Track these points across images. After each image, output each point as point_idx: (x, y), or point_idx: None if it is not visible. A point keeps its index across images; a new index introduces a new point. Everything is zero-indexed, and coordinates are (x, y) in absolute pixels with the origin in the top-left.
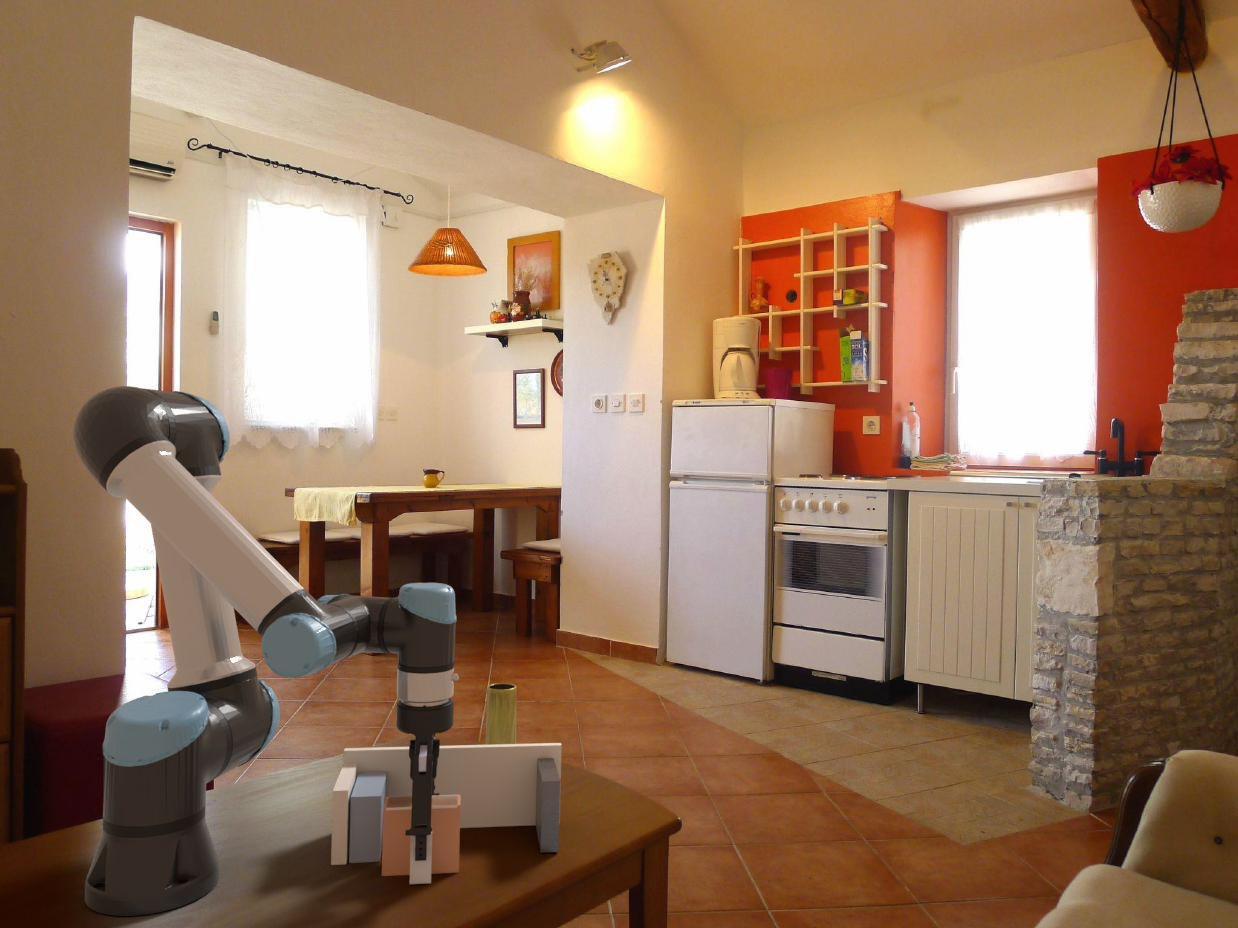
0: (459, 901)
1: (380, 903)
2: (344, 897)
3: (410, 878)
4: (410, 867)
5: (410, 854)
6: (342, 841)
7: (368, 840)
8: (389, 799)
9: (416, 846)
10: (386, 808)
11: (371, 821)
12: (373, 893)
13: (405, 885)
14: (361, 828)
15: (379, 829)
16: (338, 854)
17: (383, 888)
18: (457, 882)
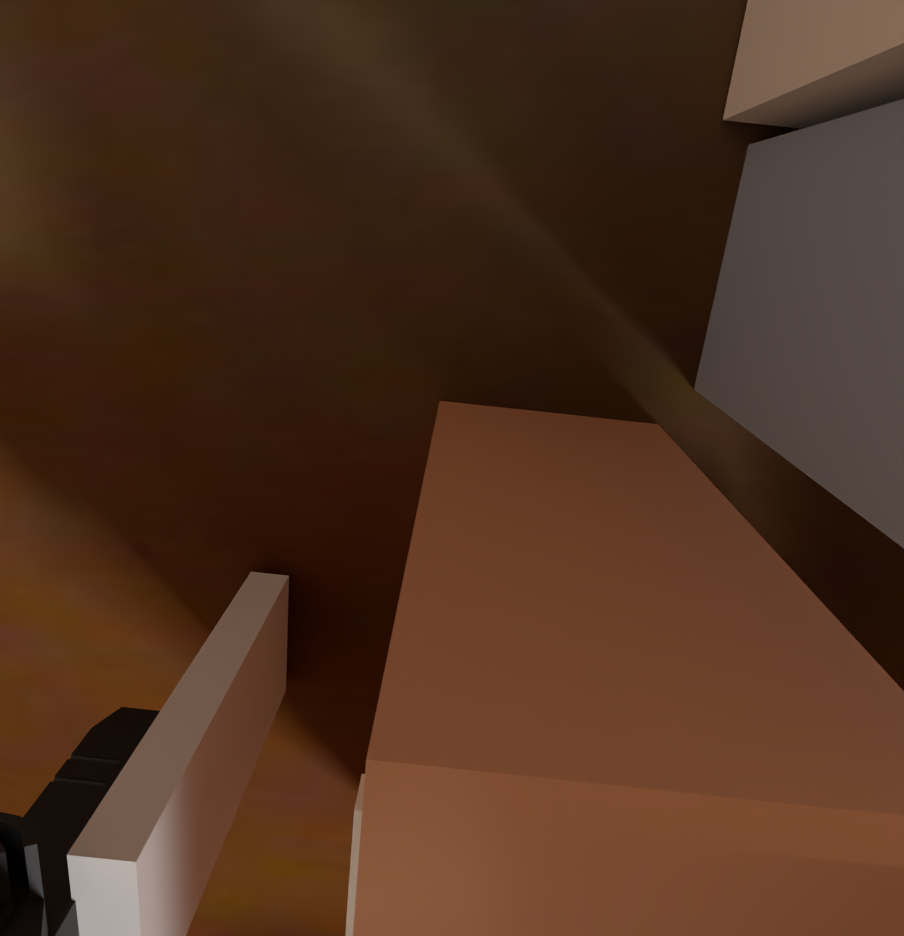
0: (38, 789)
1: (17, 383)
2: (115, 121)
3: (240, 593)
4: (213, 634)
5: (173, 696)
6: (826, 24)
7: (782, 326)
8: (851, 873)
9: (39, 811)
10: (362, 799)
11: (887, 397)
12: (165, 339)
13: (263, 543)
14: (878, 255)
15: (806, 463)
16: (773, 18)
17: (235, 407)
18: (266, 803)
